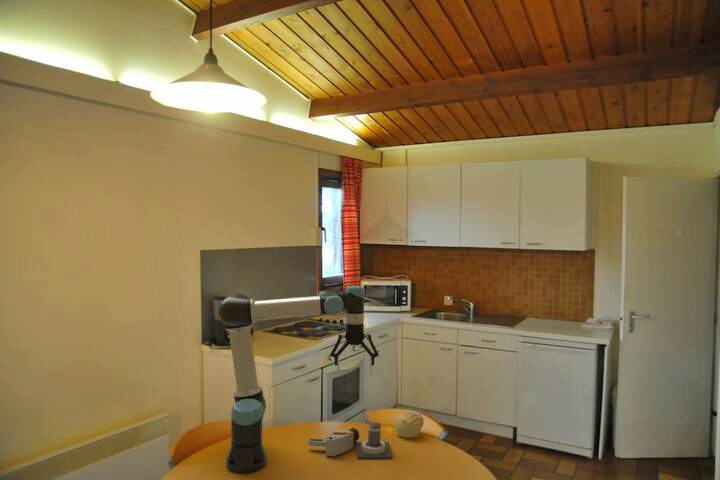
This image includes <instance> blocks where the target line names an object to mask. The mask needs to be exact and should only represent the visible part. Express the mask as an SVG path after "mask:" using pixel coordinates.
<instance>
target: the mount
mask: <svg viewBox="0 0 720 480" xmlns="http://www.w3.org/2000/svg"><path fill="white" fill-rule="evenodd" d="M355 449H356V450H355V452H356V460H393V453H392V450H391V446H390V442H389V441H382V440H380V447H377V448H371V447H368V439H366V440H364V441H355Z"/></svg>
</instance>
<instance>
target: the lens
mask: <svg viewBox="0 0 720 480" xmlns="http://www.w3.org/2000/svg"><path fill="white" fill-rule="evenodd" d="M367 428H368V429H367V430H368V434H367V436H368V438H367V440H368V447H371V448H377V447H380V441H381V435H382V434H381V431H382V424H381V423H379V422H369V423H368V427H367Z"/></svg>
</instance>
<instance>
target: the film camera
mask: <svg viewBox="0 0 720 480" xmlns="http://www.w3.org/2000/svg"><path fill="white" fill-rule="evenodd" d="M359 439H360V433H359V430H358V429H357V428H354V427H352V428H349V430H345V429H344V430H343V429H342V430H340V429H337V430H335V431H334V432H332V433H330V434H329V435H328V436H326V438H325V439H323V438H322V439H320V438H318V439H315V438H309V439H308V444H307V445H308V446H310V447H325V456H327V457H336V456H338V455H341V454H344V453H346V452H348V451H349V450H351V449H352V448H354V442H358V441H359Z"/></svg>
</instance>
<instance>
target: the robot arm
mask: <svg viewBox="0 0 720 480" xmlns="http://www.w3.org/2000/svg"><path fill="white" fill-rule="evenodd" d="M343 310H345V322H346V323H345V334H342V333H339V334H338V338H337V340H336V342H335V344H334V346H333V348H332V350H331V352H330V357H332V358H334V366H337V367H336V369H337V371H336V372H337V373H336V374H337V375H339V374H340V355H341V354H342V353H343V352H344V351H345V350H346V348H347V347H348V346H349V345H350V346H361V347H362V348H363V349H364V350H365V351H366V353H368V355H369V357H368V359H369V361H368V362H369V363H368V365H369V366H368V368H369V369H368V370H369V371H368V372H369V374H370V375H372V368H373V367H372V366H375V358H377V357H379V355H380V354H379V352H378V350H377V348H376V347H375V345H374V342H373V340H372V335H371V333H367V334H365V331H364V330H365V324H364V322H365V312H364V311H365V289H364V287H363V286H361V285H360V286H359V285H349V286H347V287H346V289H345V290H323V291H321V290H320V291H318V293H317V295H316V296H315V295H314V296H313V295H312V296H301V297H299V296H298V297H291V298H290V297H288V298H278V299H265V300H264V299H263V300H262V299H261V300H255V299H254V298H249V296H248V295H246V294H244V293H242V292H241V293H240V292H235V293H230V294H229V295H227V296H226V297H225V298H224V299H223V300H222V301H221V302H220V304H219V306H218V317H219V319H220V321H221V322H222V323H223V325H224V330H226V331H227V332H228V334H229V341H230V348H231V349H230V350H231V357H232V362H233V363H232V364H233V370H234V377H235V385H236V390H235V391H234V393H233V398H234V399H233V400H234V404H233V405H232V407H231V412H230V417H231V421H230V422H231V427H230V429H231V439H230V440H231V443H230V448H229V451H228V454H227V457H226V460H225V461H226V462H225V465H226V469H227V470H228V471H230V472H233V473H237V474H249V473H253V472H256V471H258V470H259V471H260V470H261V469H263V468H264V467H265V466H266V465H267V454H266V452H265V447H264V445H263V421H264V416H265V412H266V407H267V403H266V399H265V396H264V391H263V387H261V386H260V385H259V382H258V376H257V367H256V361H255V354H254V347H253V339H252V333H251V328H252V327H253V325H254V324H255V323H256V322H257V321H268V320H280V319H287V318H300V317H302V318H303V317H311V316H319V315H320V316H321V315H322V316H323V315H325V316H326V315H330V316H338V315H339V314H340V313H342V311H343ZM344 339H345V340H346V341H345V342H344V344H343V345H342V346H341V347H340V348H339V350H338V347H339V346H340V344H341V341H343V340H344ZM365 339H366V340H367V341H368V342H369V344H370V346H371V349H372V350H373V352H372V351H371V349H370V348H369V347H368V346H367V345H366V343H365V342H364V340H365Z"/></svg>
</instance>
